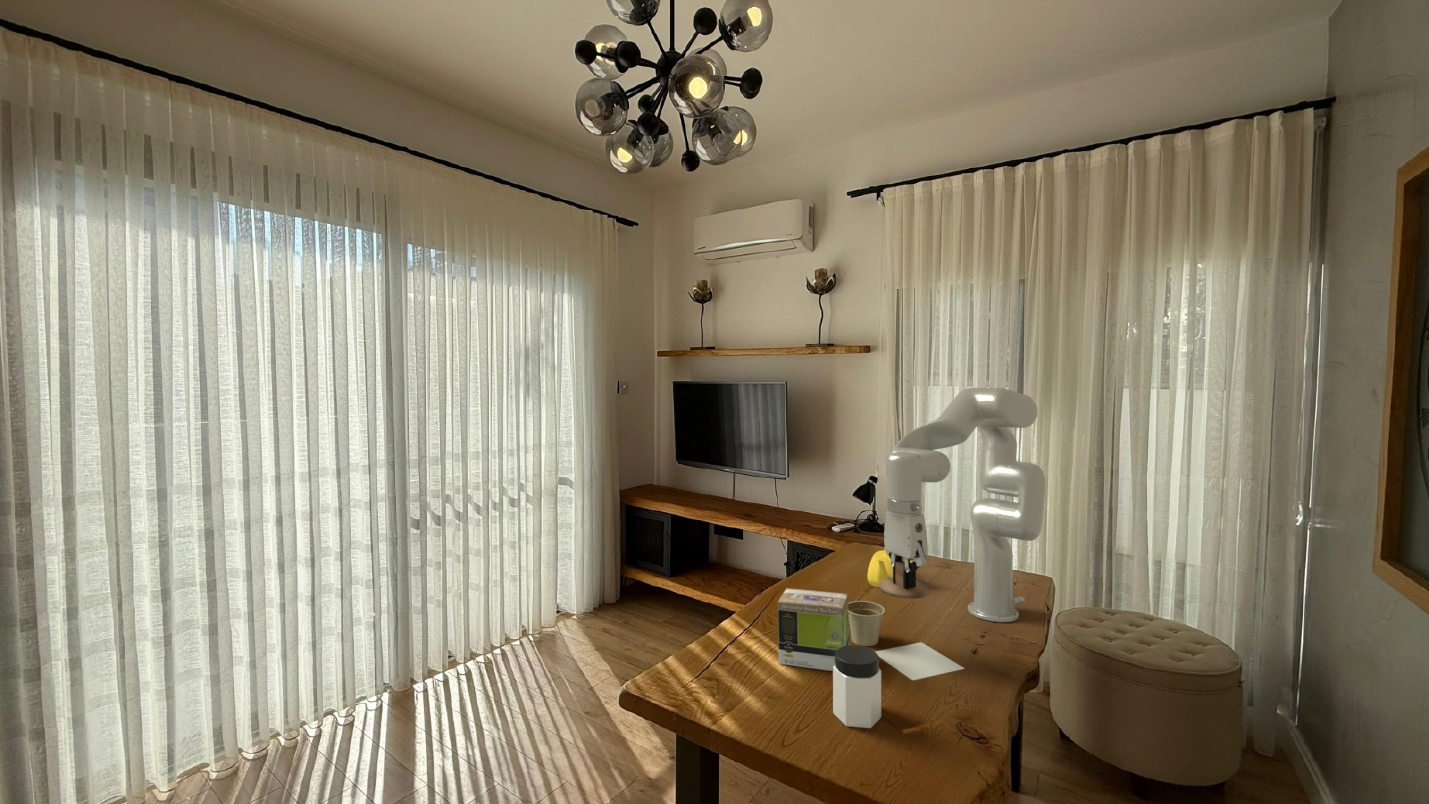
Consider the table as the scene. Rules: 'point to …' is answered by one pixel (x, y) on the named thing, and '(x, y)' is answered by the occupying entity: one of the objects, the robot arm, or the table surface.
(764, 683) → the table surface
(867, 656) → the jar
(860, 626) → the flower pot
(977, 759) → the table surface
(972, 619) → the table surface
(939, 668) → the mat
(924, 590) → the lid
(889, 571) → the teapot
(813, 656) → the tea box
